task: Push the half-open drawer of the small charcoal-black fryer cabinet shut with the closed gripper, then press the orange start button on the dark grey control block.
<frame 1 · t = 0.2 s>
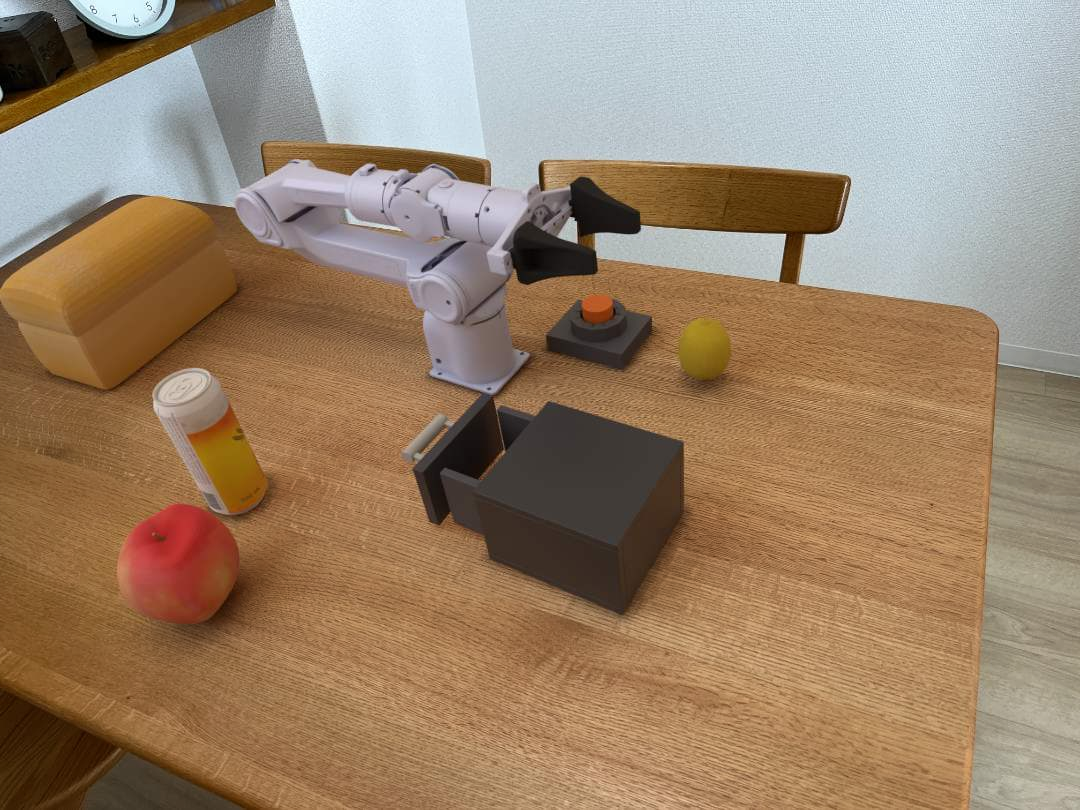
hand: (617, 242, 72), 21 cm above the table, tool horizontal, fingers open, 7 cm apart
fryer: (587, 535, 74), on the table
apple: (204, 603, 74), on the table
drawer: (492, 469, 76), point 5 cm above the table, slide at 6.0 cm
lemon: (703, 380, 89), on the table
start button: (597, 309, 94), point 4 cm above the table, slide at 0.1 cm
bread: (149, 330, 111), on the table
beer can: (241, 498, 84), on the table
control block: (600, 340, 97), on the table
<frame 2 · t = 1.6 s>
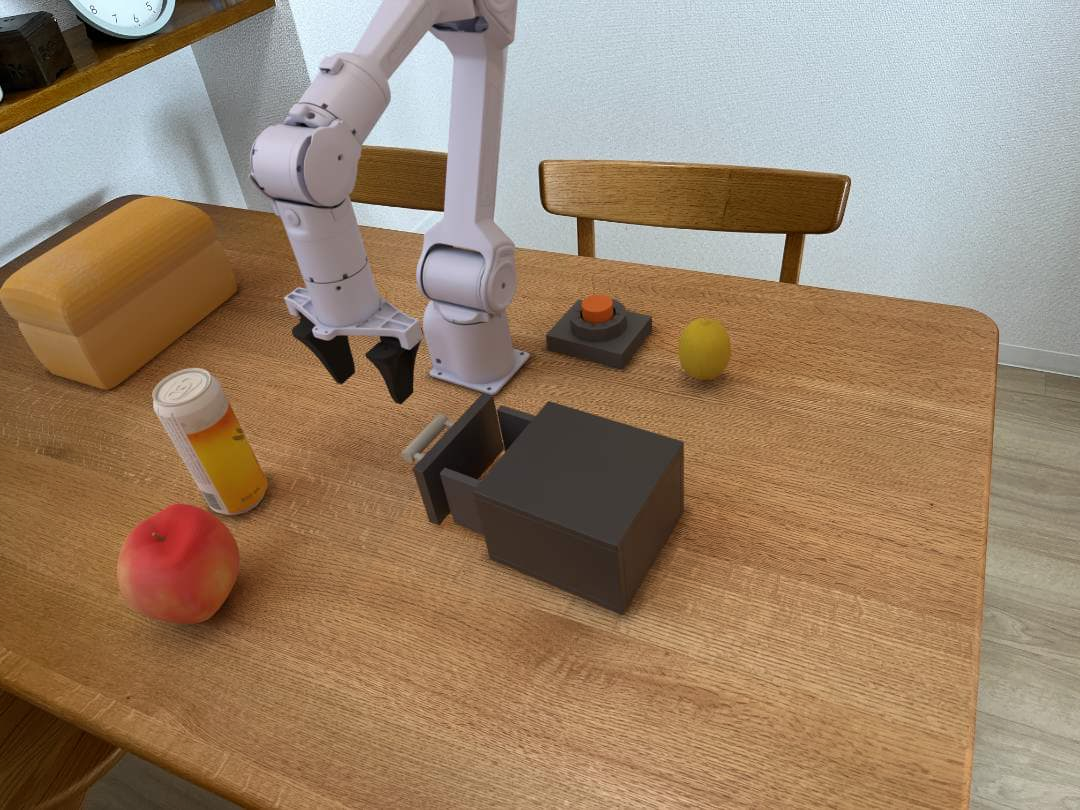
hand: (374, 387, 78), 10 cm above the table, tool pointing down, fingers open, 7 cm apart
nothing on the table moved.
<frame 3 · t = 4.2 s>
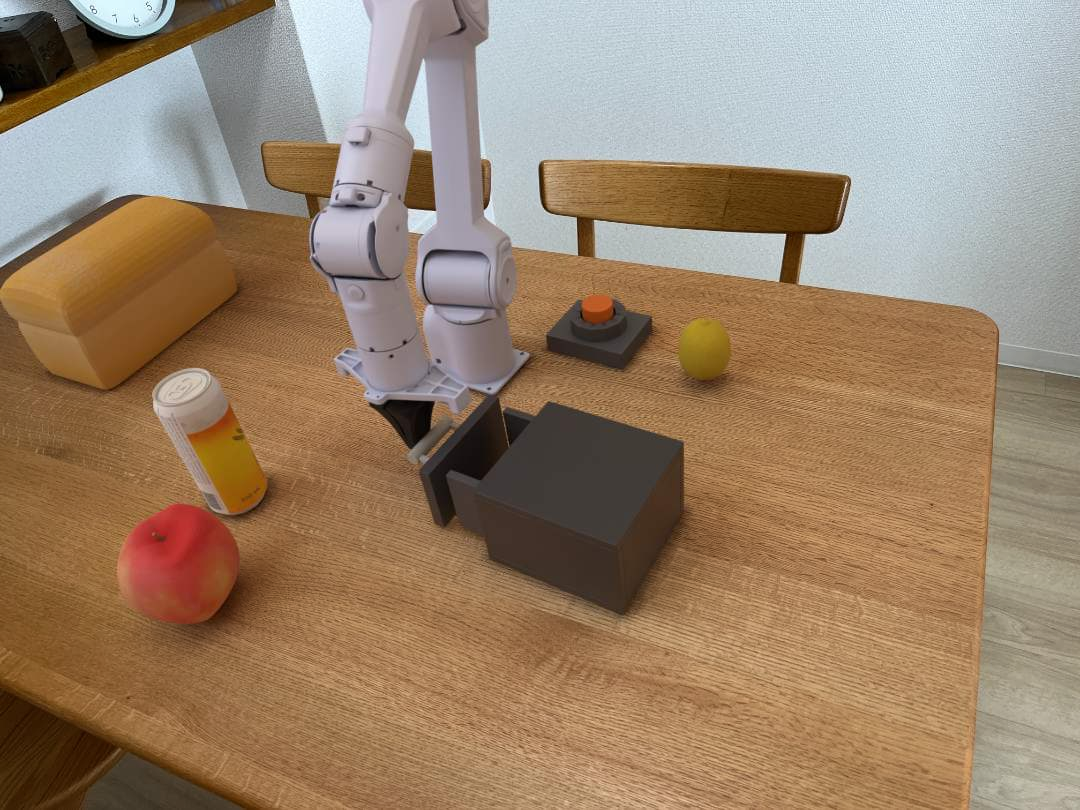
hand: (419, 443, 80), 4 cm above the table, tool pointing down, fingers closed
drawer: (497, 471, 75), point 5 cm above the table, slide at 5.3 cm, touching gripper
everything else where it was.
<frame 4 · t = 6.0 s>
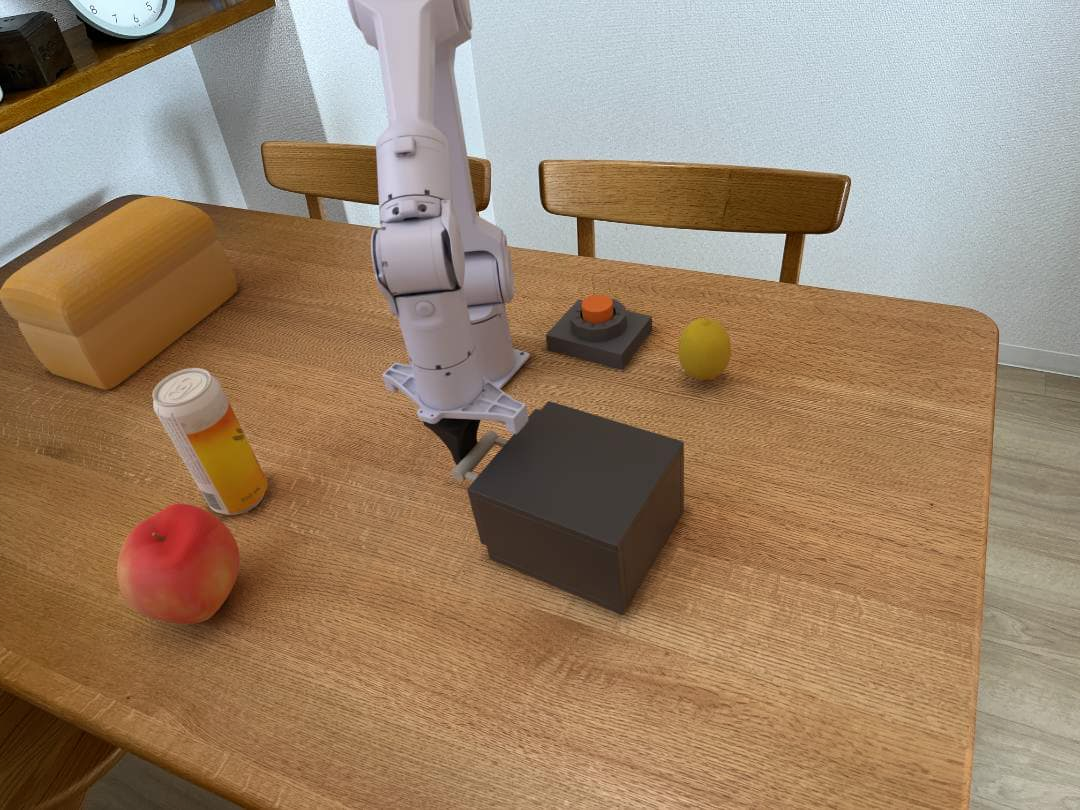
hand: (468, 462, 77), 4 cm above the table, tool pointing down, fingers closed, pressing on drawer
drawer: (546, 488, 73), point 5 cm above the table, slide at 0.0 cm, touching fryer, gripper
everything else where it was.
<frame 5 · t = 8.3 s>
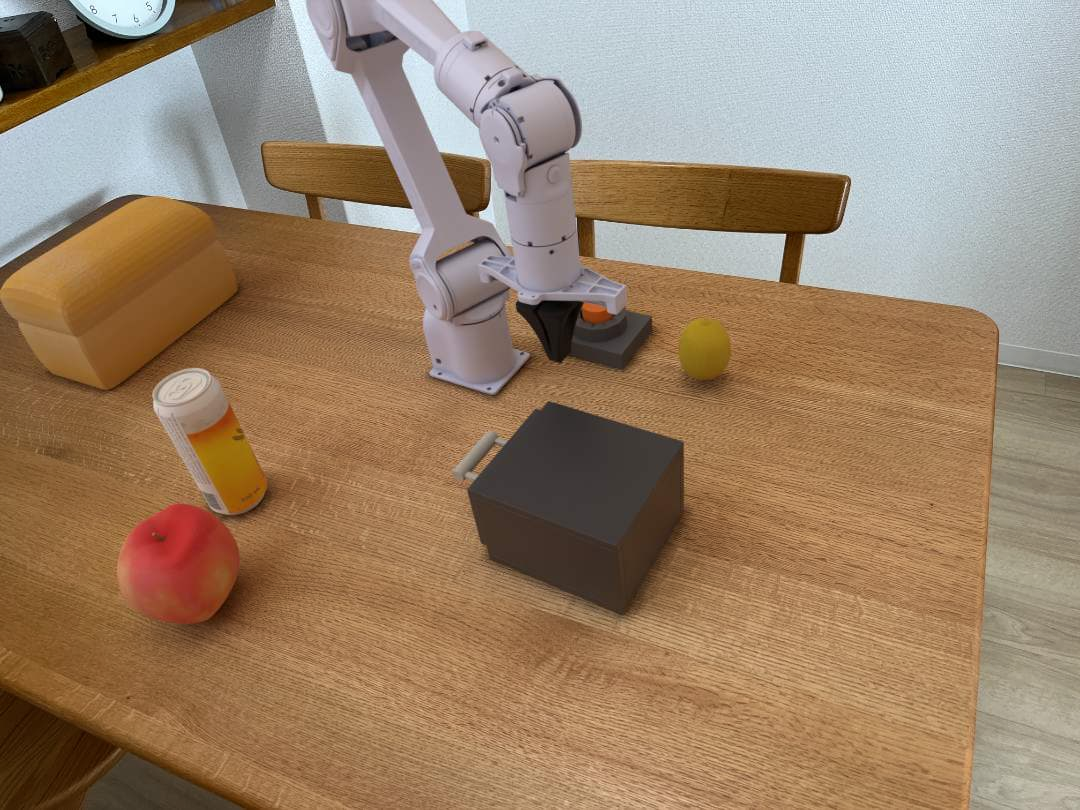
hand: (559, 355, 78), 10 cm above the table, tool pointing down, fingers closed
drawer: (546, 488, 73), point 5 cm above the table, slide at 0.0 cm, touching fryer
everything else where it was.
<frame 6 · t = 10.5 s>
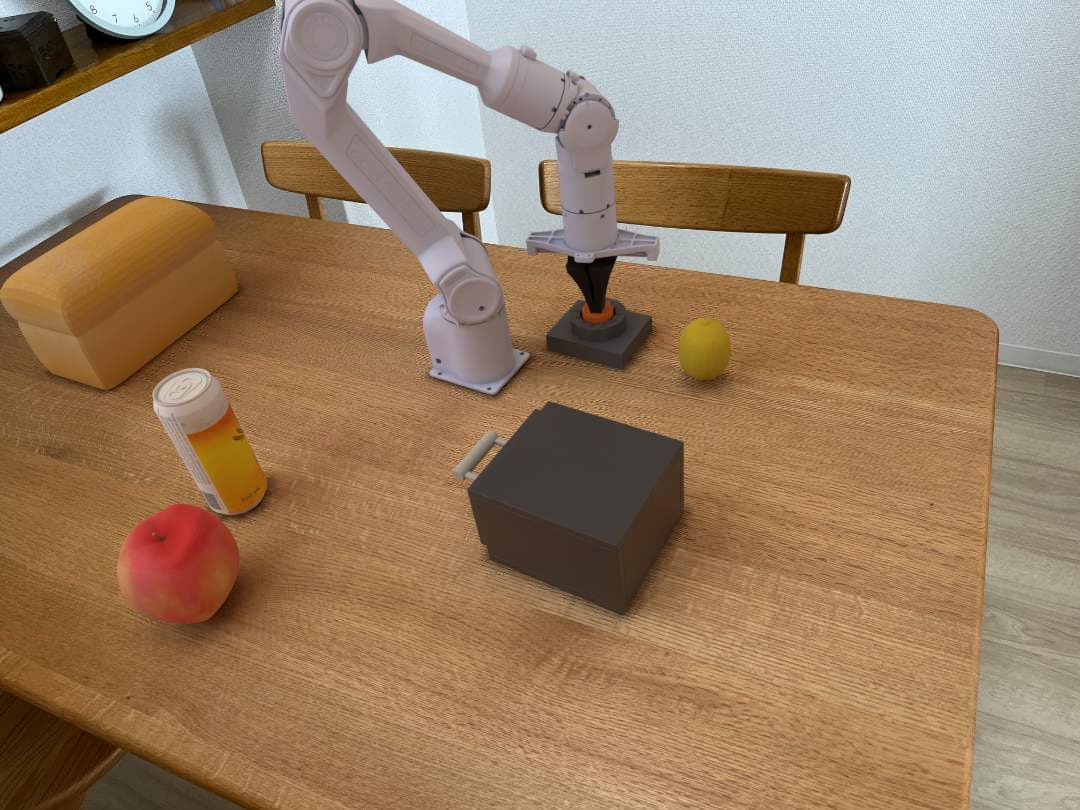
hand: (597, 308, 94), 5 cm above the table, tool pointing down, fingers closed, pressing on start button
start button: (597, 314, 94), point 4 cm above the table, slide at -0.6 cm, touching gripper
everything else where it was.
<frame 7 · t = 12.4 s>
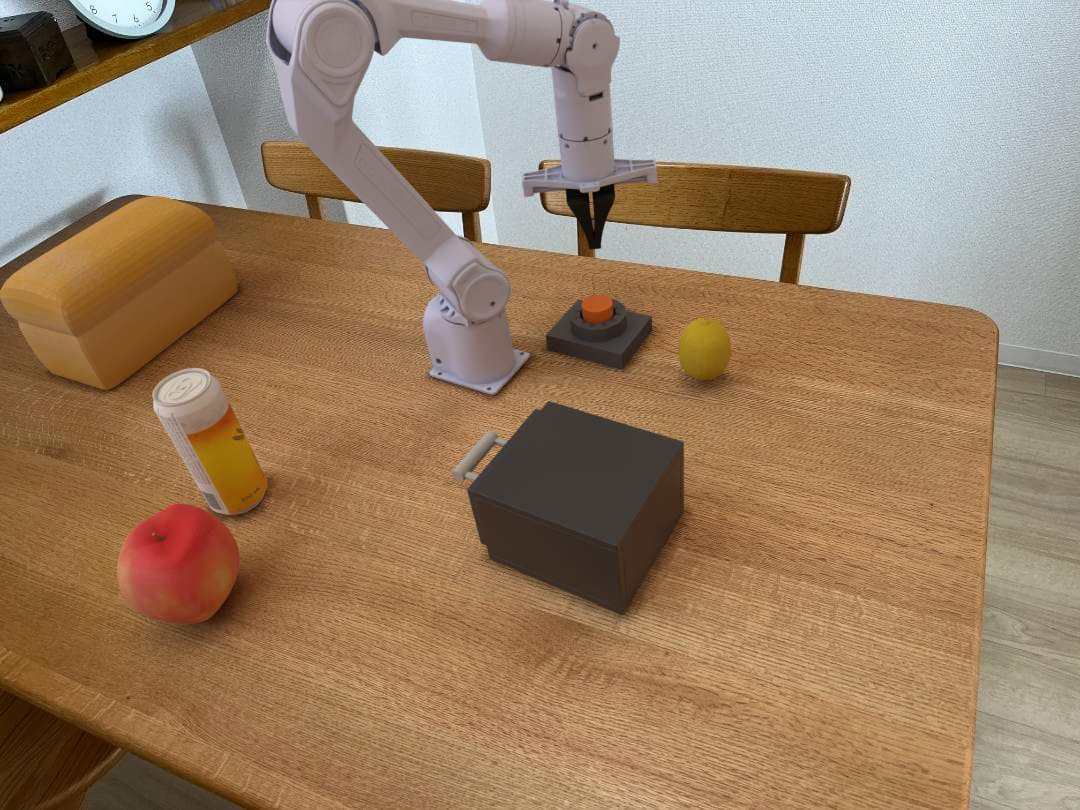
hand: (594, 244, 93), 10 cm above the table, tool pointing down, fingers closed
start button: (597, 309, 94), point 4 cm above the table, slide at 0.1 cm
everything else where it was.
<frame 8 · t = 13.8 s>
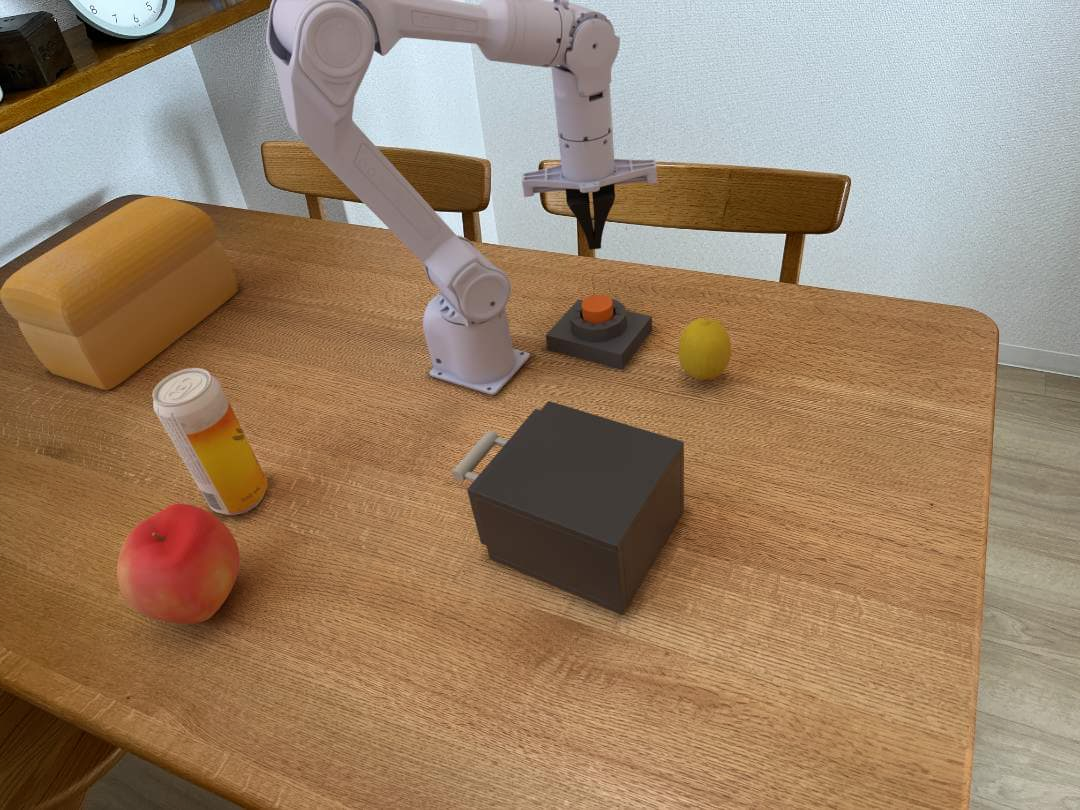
hand: (594, 244, 93), 10 cm above the table, tool pointing down, fingers closed
nothing on the table moved.
at the end: drawer slide at 0.0 cm; start button pushed in 1.2 cm at the most during the clip, back to where it started at the end; start button slide at 0.1 cm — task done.
